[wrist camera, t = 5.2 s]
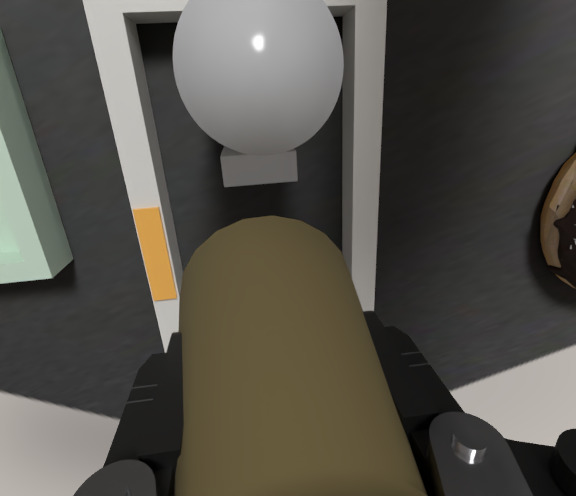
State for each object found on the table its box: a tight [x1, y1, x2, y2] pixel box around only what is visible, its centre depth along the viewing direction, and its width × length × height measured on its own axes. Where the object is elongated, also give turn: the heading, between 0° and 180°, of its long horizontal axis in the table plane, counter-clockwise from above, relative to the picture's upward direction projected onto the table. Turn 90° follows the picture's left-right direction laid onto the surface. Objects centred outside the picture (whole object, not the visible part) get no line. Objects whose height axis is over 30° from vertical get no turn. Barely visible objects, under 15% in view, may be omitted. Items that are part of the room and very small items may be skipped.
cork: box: [174, 215, 428, 496], centre depth 7 cm, size 6×6×11 cm
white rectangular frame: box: [83, 0, 387, 353], centre depth 18 cm, size 24×12×5 cm, turn 3°
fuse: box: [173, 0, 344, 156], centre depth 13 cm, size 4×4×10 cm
